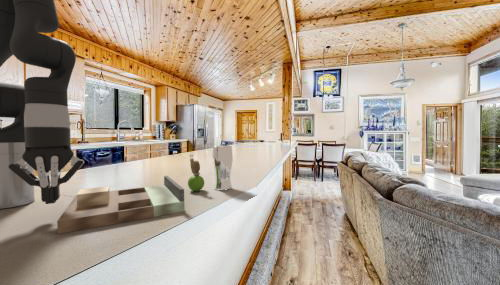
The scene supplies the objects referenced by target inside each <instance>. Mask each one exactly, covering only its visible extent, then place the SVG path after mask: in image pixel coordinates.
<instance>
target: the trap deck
mask: <svg viewBox="0 0 500 285" xmlns="http://www.w3.org/2000/svg"><path fill="white" fill-rule="evenodd" d="M163 181H164V182H163V185H162V184H160V185H153V186H145V187H136V188H127V189H126V188H125V189H118V190H109V196H110V198H109V203H108V204H101V205H94V206H87V207H79V208H77V194H76V195H75V196H74V198H73V199H72V200H71V201H70V203H69V204H68V206H67V207H66V208H65V209H64V211H63V213H62V214H61V215H60V217H59V218H58V220H57V221H56V224H57V225H56V226H57V230H56V231H57V235H62V234H66V233H71V232H77V231H78V232H79V231H82V230H88V229H94V228H99V227H104V226H110V225H115V224H121V223H122V224H123V223H126V222H132V221H133V222H134V221H139V220H143V219H148V218H154V217H160V216H165V215H170V214H171V215H172V214H176V213H183V212H185V188H183V187H182V186H181V185H180V184H178V182H176V181H174V180H173V178H171V177H169V176H168V175H164V176H163Z"/></svg>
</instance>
